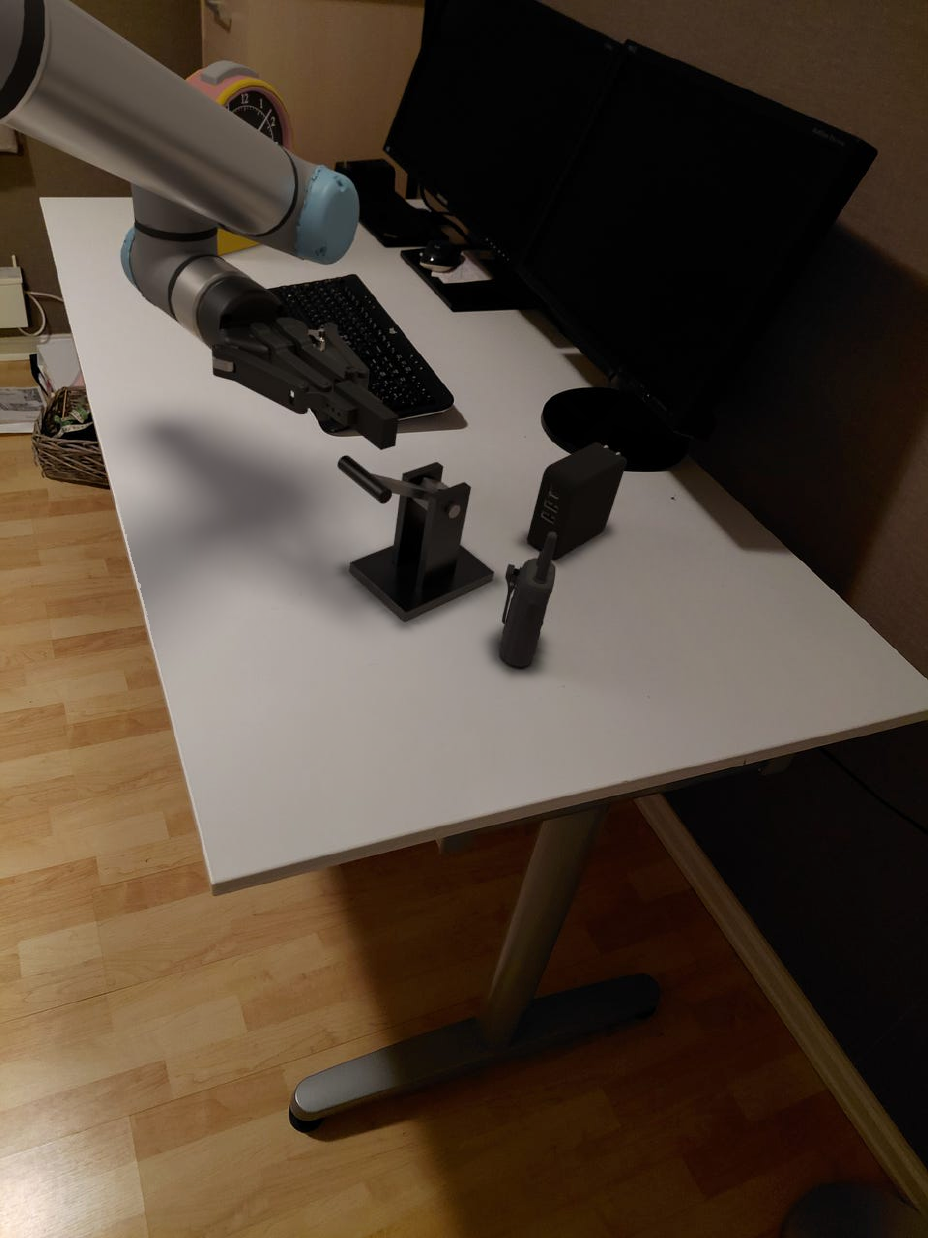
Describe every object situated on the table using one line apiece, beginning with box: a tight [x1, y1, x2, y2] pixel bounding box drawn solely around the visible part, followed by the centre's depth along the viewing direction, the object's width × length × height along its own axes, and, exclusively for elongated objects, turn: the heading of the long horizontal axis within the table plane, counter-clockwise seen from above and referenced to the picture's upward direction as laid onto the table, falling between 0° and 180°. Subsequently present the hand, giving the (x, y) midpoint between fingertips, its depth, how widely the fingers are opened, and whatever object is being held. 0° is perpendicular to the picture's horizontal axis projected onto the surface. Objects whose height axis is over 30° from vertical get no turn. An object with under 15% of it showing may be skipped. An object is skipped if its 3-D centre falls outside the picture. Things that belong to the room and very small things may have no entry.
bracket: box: [348, 461, 495, 622], centre depth 83 cm, size 12×9×12 cm
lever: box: [336, 454, 450, 510], centre depth 77 cm, size 12×6×2 cm, turn 132°
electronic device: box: [526, 441, 628, 560], centre depth 93 cm, size 4×10×10 cm, turn 137°
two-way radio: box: [499, 532, 557, 668], centre depth 76 cm, size 6×4×15 cm
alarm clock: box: [184, 59, 295, 256], centre depth 140 cm, size 21×9×26 cm, turn 147°
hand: (389, 432), depth 67 cm, fingers closed
